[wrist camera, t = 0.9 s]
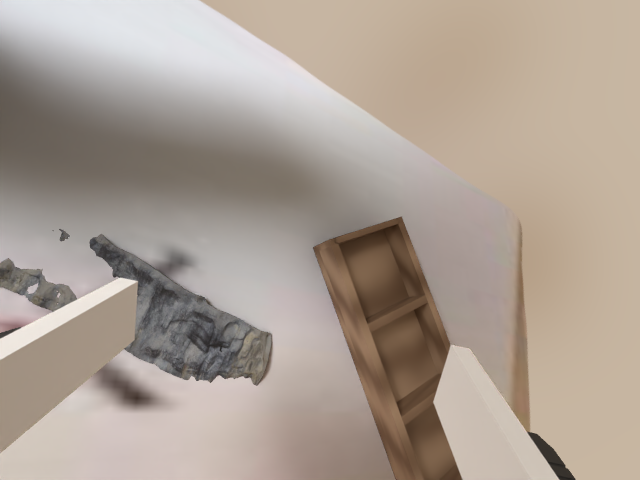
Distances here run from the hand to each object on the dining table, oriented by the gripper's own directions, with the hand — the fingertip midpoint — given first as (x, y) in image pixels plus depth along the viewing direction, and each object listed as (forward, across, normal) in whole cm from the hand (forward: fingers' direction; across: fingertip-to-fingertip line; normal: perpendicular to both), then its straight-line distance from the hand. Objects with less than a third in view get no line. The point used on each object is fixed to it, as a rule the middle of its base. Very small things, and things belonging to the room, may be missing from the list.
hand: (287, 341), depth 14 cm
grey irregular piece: (+12, -12, -7) cm, 18 cm away
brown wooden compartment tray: (+20, +10, -11) cm, 25 cm away
